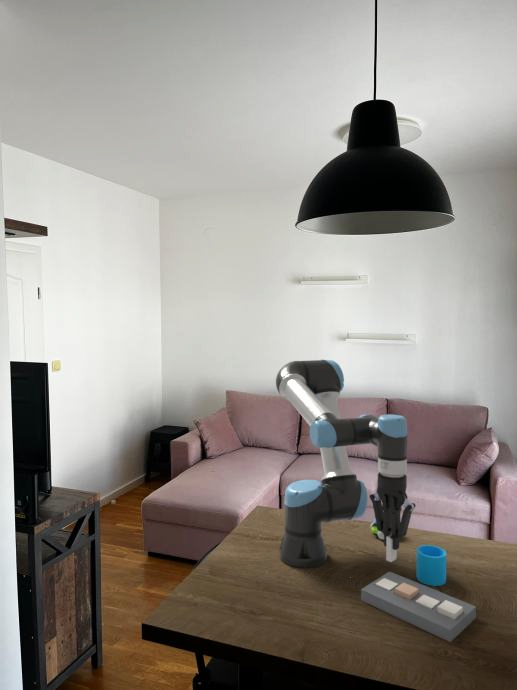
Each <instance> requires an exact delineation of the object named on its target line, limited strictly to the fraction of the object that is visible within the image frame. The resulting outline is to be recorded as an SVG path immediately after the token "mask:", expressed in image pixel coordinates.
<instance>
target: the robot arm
mask: <svg viewBox="0 0 517 690" xmlns="http://www.w3.org/2000/svg"><path fill="white" fill-rule="evenodd" d="M344 382H345V377H344V373H343V370H342V368H341V366H340V364H338V363H337V362H336V361H335V360H329V359H319V360H318V359H317V360H315V359H314V360H294V361H290V362H288V363H286V364H284V365H283V366H282V367H281V368H280V369H279V371H278V372H277V375H276V377H275V386H276V387H275V388H276V390H277V391H278V394H279V396H281V397H282V398H283V399H284V400H286V401H289V402H290V404H291V405H292V406H293V407H294V409H295V410H296V411H297V412H298V414H299V415H301V417H302V418H303V420H304V421H305V422H306V424H308V426H309V436H310V437H309V438H310V440H311V443H312V445H313V446H314V447H315V448H319V449H320V455H321V460H322V462H321V463H322V466H323V471H324V472H323V473H324V475H323V476H322V478H321V479H320V481H319V480H316V479H301V480H297V481H294V482H291V483H290V484H288V486H286V489H285V491H284V492H285V493H284V494H285V495H284V532H283V533H284V534H283V537H282V539H281V543H280V546H279V555H278V557H279V559H280V560H281V561H282V562H283V563H284V564H287V565H289V566H292V567H295V568H296V567H297V568H313V567H318V566H321V565H323V564H324V563H326V561H327V559H328V549H327V546H326V544H325V540H324V536H323V531H322V530H323V529H322V527H323V524H324V523H332V522H339V521H346V520H347V521H351V520H354V519H358V518H361V517H362V516H363V515H364V514H365V512H366V509H367V507H368V491H367V488H366V485H365V484H364V482H363V481H362V480H360V479H358V478H357V474H356V473H355V472H353V471H352V470H351V466H350V460H349V456H348V451H347V446H360V445H373V446H376V447H377V472H378V473H377V487H378V488H377V490H376V492H375V493H371V494H370V495H369V499H370V501H371V503H372V507H373V512H374V520H376V524H377V529H378V531H381V532H382V533H383V534H384V540H383V546H384V547H386V548H385V549H386V550H385V553H386V557H385V561H386V562H390V563H392V562H394V561H395V560H397V557H398V556H397V554H398V551H397V550H399V549H400V539H401V538H403V537H405V536H407V533H408V528H409V524H410V521H411V517H412V513H413V510H414V509H415V508H416V504H415V503H414V502H411V501H410V500H409V499H408V494H407V492H406V491H407V488H408V487H407V481H408V479H407V475H406V474H407V472H408V460H407V459H408V457H407V456H408V433H409V432H408V423H407V422H408V420H407V419H406V417H405V416H403V415H400V414H398V415H397V414H389V413H388V414H381V415H379V417H377V416H376V415H373V414H361V415H359V416H358V417H351V418H349V417H348V418H341V415H340V410H339V405H338V404H339V403H338V399H339V398H340V396H341V392H342V391H343V389H344V386H345V384H344ZM402 507H403V510H402ZM401 512H402V514H401Z"/></svg>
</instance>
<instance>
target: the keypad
mask: <svg viewBox="0 0 517 690" xmlns="http://www.w3.org/2000/svg"><path fill="white" fill-rule="evenodd" d="M383 578H385V579H388V580H390V581H393V582H395V583H397V584H398V586H399V585H401V584H402V583H406V584H408V585H411V586H413V587H416V588H418V595H417V596H416V597H414V598H413V599H412V600H407V599H405V598H403V597H401V596H398V595H396V594H395V589H393V590H392V591H390V592H389V591H387V590H385V589H382V588H380V587H378V586H375V584H376V583H377V582H379V581H380V580H382V579H383ZM423 595H426V596H428V597H431V598H433V599H436V600H438V601H440V604H442V603H443V602H444V601H445V600H447V601H449V602H452V603H454V604H457V605H459V606H462V607H463V614H462V615H460V616H459V617H458V618H457V619H456V620H453V619H451V618H449V617H446V616H444V615H442V614H439V613H437V607H438V606H439V605H440V604H439V605H438V606H436V607H435V608H434V609H433V610H430V609H428V608H426V607H423V606H421V605H419V604H417V603H415V601H416V600H417V599H419V598H420V597H421V596H423ZM360 601H361V602H364V603H366V604H368V605H370V606H372V607H374V608H377V609H378V610H381V611H383V612H385V613H386V614H390V615H391V616H393V617H396V618H397V619H400V620H402V621H404V622H406V623H407V624H411V625H412V626H415V627H416V628H419V629H422V630H423V631H425V632H428V633H429V634H432V635H434V636H436V637H438V638H440V639H442V640H444V641H446V642H449V643H452V641H453V640H455V638H457V636H458V635H459V634H461V633H462V632H463V631H464V630H465V629H466V628H467V627H468V626H469V625H470V624H471V623H472V622H473V621H475V620H476V618H477V606H476V605H473V604H470V603H468V602H466V601H463V600H461V599H458V598H456V597H453V596H450V595H448V594H445V593H443V592H441V591H439V590H436V589H434V588H431V587H429V586H427V585H425V584H423V583H422V584H421V583H419V582H417V581H414V580H411V579H409V578H407V577H404V576H401V575H400V574H396V573H394V572H392V571H388V572H386V573H385V574H383V575H381V576H380V577H378V578H377V579H375V580H374V581H372V582H370V583H369V584H368V585H366V586H364V587H363V588H361V589H360Z"/></svg>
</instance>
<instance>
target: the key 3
mask: <svg viewBox="0 0 517 690" xmlns="http://www.w3.org/2000/svg"><path fill="white" fill-rule="evenodd" d="M415 603H417V604H419V605H421V606H423V607H426V608H428V609H430V610H433V609H434V608H435V607H436V606H438V605H439V604H440V601H438V600H436V599H433V598H431V597H428V596H426V595H423V596H421V597H420V598H419V599H417V600H416V601H415Z"/></svg>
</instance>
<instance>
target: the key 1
mask: <svg viewBox="0 0 517 690" xmlns="http://www.w3.org/2000/svg"><path fill="white" fill-rule="evenodd" d="M375 586H378V587H380V588H382V589H385V590H387V591H389V592H390V591H392V590H393V589H395V588H396V587H398V584H397V583H395V582H393V581H390V580H388V579H385V578H383V579H382V580H380V581H379V582H377V583H376V584H375Z"/></svg>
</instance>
